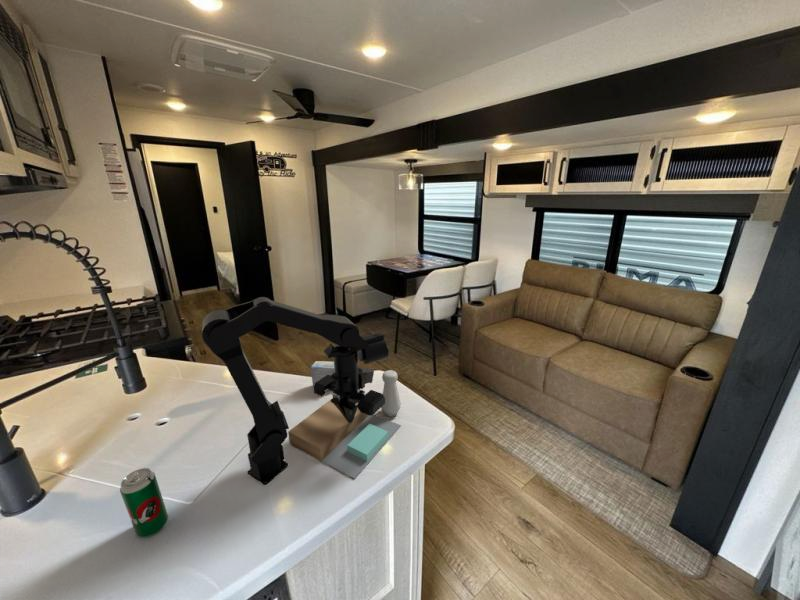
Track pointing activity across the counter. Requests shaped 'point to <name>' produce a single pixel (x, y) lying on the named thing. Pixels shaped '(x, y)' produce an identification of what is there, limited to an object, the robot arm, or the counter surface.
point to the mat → (350, 462)
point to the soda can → (144, 502)
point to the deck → (323, 430)
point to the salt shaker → (390, 393)
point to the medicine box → (321, 370)
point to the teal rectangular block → (367, 442)
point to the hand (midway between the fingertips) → (350, 421)
